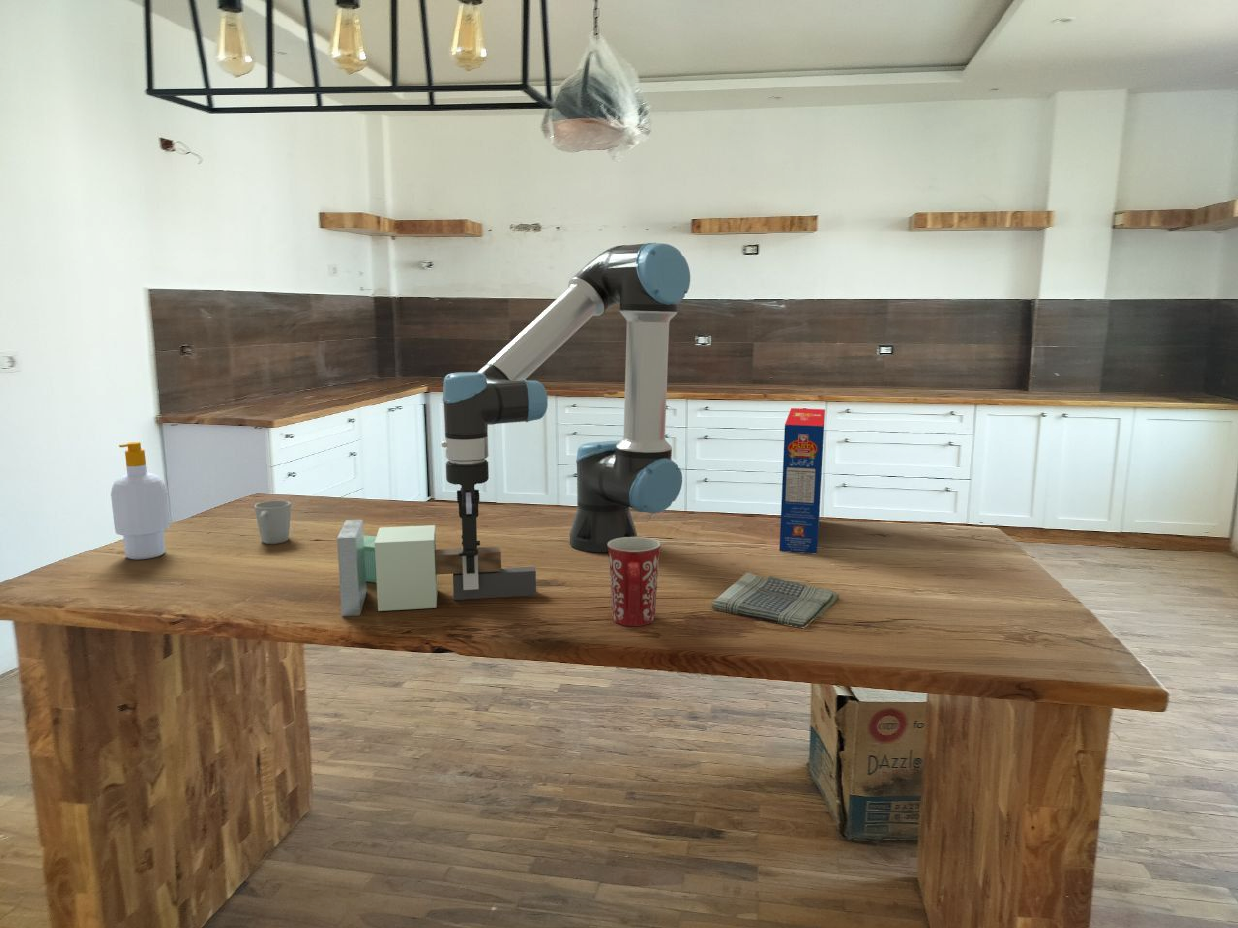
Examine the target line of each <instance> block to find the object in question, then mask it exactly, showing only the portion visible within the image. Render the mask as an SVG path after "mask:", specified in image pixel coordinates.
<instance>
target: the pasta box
mask: <svg viewBox="0 0 1238 928" xmlns="http://www.w3.org/2000/svg"><path fill="white" fill-rule="evenodd" d="M825 416H826V409H823V408H797V407H795V408H794V407H793V408H792V407H791V408H790V411H789V413H788V415H787V418H786V421H785V423H784V436H783V437H784V438H783V459H782V460H783V461H782V462H783V463H782V480H781V481H782V483H781V484H782V485H781V486H782V487H781V503H780V504H781V505H780V506H781V508H780V524H779V525H780V530H779V531H780V533H779V552H786V551H791V552H790V553H799V552H804V553H803V554H812V553H817V554H818V546H817V545H818V543H819V530H820V517H821V516H820V513H821V512H820V510H821V496H822V495H821V494H822V492H821V491H822V480H823V479H822V476H823V474H822V473H823V458H824V457H823V456H824V439H825V436H824V435H825V422H826V421H825V420H826V419H825V418H826V417H825Z"/></svg>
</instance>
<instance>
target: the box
mask: <svg viewBox="0 0 1238 928" xmlns="http://www.w3.org/2000/svg"><path fill="white" fill-rule="evenodd" d="M363 535H364V553H365V571H366V582H369V583H375V584H377V579H376V560H375V540H376V537H377V535H368V534H367V535H366V534H363Z"/></svg>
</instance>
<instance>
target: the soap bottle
mask: <svg viewBox="0 0 1238 928" xmlns="http://www.w3.org/2000/svg"><path fill="white" fill-rule="evenodd" d="M118 447H119V448H127V450H125V451H124V456H125V464H126V465H125V466H126V467H125V468H126V474H124V475H122V476H120V477H119V478H117V479H116V480H115V481H114V482H113V484H112V487H111V493H110V497H111V507H112V514H113V525H114V530H115V533H116V535H119V536H123V537H122V538H123V546H124V556H125V557H126V558H127V559H130V560H147V559H153V558H154V559H155V558H157V557H160V556H163V554H165V553H166V539H165V531H167V530H169V528H170V527H171V518H170V510H169V509H170V508H169V499H168V492H167V487H166V485H165V482H164V481H163V480H162V479H161V477H160V476H159V475H157V474H154V473H152V472H148V470H147V468H148V467H147V461H146V451H145V449H143V448H142V444H141V442H140V441H134V442H133V441H132V442H127V443H124V444H119V445H118Z"/></svg>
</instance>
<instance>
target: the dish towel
mask: <svg viewBox="0 0 1238 928" xmlns="http://www.w3.org/2000/svg"><path fill="white" fill-rule="evenodd" d="M839 598H840V594H839V593H837V592H836V591H834V590H831V589H828V588H822V587H816V586H810V585H807V584H804V583H800V582H798V581H796V582H794V581H790V580H785V579H782V578H778V577H775V576H773V575H772V576H771V575H770V576H768V577H767V578H765V577H763V576H761V575H757V574H753V573H751V572H746V573H744V574H743V575H742V576H741V577H740V578H739V579H738V580H737V581H735V582H734V583H733V584H732V585H731V586H729V587H728V588H727V589H726V590H725V591H724V592H723V593H722V594H721V595H720V596H718V597H717V598H715V599H713V601H712V603H711V608H712V610H716V611H720V612H724V613H729V614H733V615H736V616H742V617H747V618H751V619H756V620H757V619H758V620H760V619H762V621H765V620H767V621H766V622H769V621H772V622H771V623H773V622H776V623H775V624H778V623H781V624H780V625H783V624H787V625H792V626H797V627H796V628H798V627H805V626H806V625H807V624H809V622H810V621H811V620H813V619H815V620H817V619H818V618H819V617H821V616H822V615H824V613H826V612H827V611H828V610H829V609H830V608H831V607H832V606H834V604H835V603H836V602H837V601H838V600H839ZM837 599H838V600H837ZM828 608H829V609H828ZM827 609H828V610H827ZM821 614H822V615H821ZM820 615H821V616H820ZM816 618H817V619H816ZM787 625H786V626H787ZM809 625H810V624H809ZM792 626H791V627H792Z"/></svg>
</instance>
